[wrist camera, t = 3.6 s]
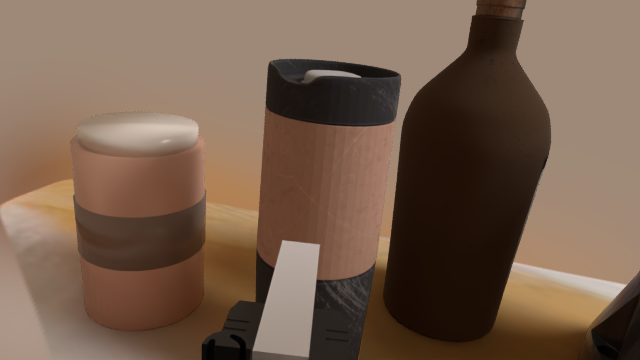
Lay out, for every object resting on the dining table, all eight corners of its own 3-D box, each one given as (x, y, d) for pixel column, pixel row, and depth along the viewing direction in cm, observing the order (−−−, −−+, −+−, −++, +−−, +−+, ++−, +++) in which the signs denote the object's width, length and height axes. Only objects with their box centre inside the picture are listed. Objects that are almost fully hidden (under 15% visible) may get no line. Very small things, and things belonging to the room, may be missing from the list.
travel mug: (345, 320, 37) (379, 64, 30) (373, 395, 30) (426, 82, 23) (248, 325, 35) (261, 55, 29) (254, 404, 28) (273, 71, 22)
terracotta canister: (185, 257, 44) (184, 108, 39) (221, 311, 37) (225, 137, 32) (76, 279, 39) (60, 112, 34) (92, 346, 32) (75, 146, 27)
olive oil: (389, 346, 35) (452, -16, 26) (366, 271, 45) (407, -9, 36) (525, 350, 36) (628, 2, 27) (473, 276, 46) (537, 4, 37)
